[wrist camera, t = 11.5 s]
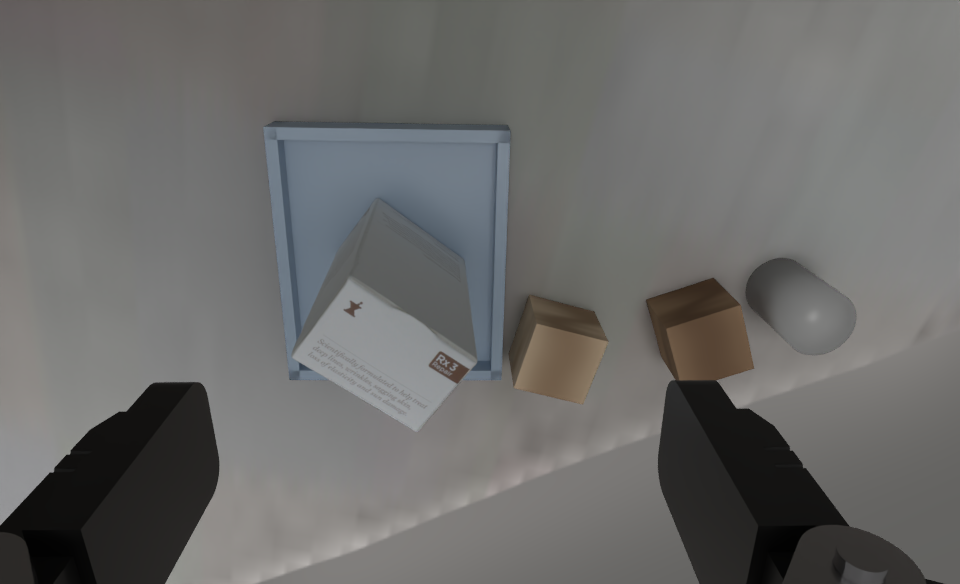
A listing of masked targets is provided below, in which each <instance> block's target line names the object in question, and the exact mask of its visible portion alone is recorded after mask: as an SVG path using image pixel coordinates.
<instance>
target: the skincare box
mask: <svg viewBox="0 0 960 584" xmlns="http://www.w3.org/2000/svg"><path fill="white" fill-rule="evenodd" d="M291 356H292V358H293V359H294V360H296V361H298V362H299V363H301V364H303V365H305V366H306V367H308V368H310V369H311V370H313V371H315V372H317V373H318V374H320V375H322V376H323V377H325V378H327V379H328V380H330V381H332V382H333V383H335V384H337V385H339V386H340V387H342V388H344V389H345V390H347V391H349V392H350V393H352V394H354V395H355V396H357V397H359V398H361V399H362V400H364V401H366V402H367V403H369V404H371V405H372V406H374V407H376V408H377V409H379V410H381V411H382V412H384V413H386V414H387V415H389V416H391V417H392V418H394V419H396V420H397V421H399V422H401V423H402V424H404V425H406V426H407V427H409V428H410V429H412V430H414V431H415V432H418V431H419V430H420V429H421V428H422V427H423V426H424V424H425V423H426V422H427V421H428V420H429V419H430V417H431V416H432V415H433V414H434V413H435V411H436V410H437V409H438V408H439V407H440V405H441V404H442V403H443V402H444V401H445V399H446V398H447V397H448V396H449V395H450V394H451V392H452V391H453V390H454V389H455V388H456V387H457V386H458V384H459V383H460V382H461V381H462V380H463V379H464V377H465V376H466V375H467V374H468V373H469V372H470V371H471V369H472V368H473V367H474V366H475V365H476V364H477V361H478V360H477V352H476V346H475V338H474V331H473V323H472V315H471V307H470V299H469V291H468V284H467V276H466V267H465V261H464V259H463V258H461V257H460V256H459V255H457V254H456V253H454V252H453V251H452V250H450V249H449V248H447V247H446V246H445V245H443V244H442V243H441V242H439V241H438V240H436V239H435V238H434V237H432V236H431V235H429V234H428V233H427V232H425V231H424V230H422V229H421V228H420V227H418V226H417V225H416V224H414V223H413V222H411V221H410V220H409V219H407V218H406V217H404V216H403V215H402V214H400V213H399V212H398V211H396V210H395V209H393V208H392V207H391V206H389V205H388V204H387V203H385V202H384V201H382V200H381V199H379V198H377V199H375V200H374V202H373V203H372V204H371V206H370V207H369V208H368V210H367V211H366V212H365V214H364V215H363V216H362V218H361V219H360V220H359V222H358V223H357V224H356V226H355V227H354V228H353V230H352V231H351V233H350V234H349V235H348V237H347V238H346V239H345V241H344V242H343V244H342V245H341V246H340V248H339V249H338V251H337V252H336V255H335V257H334V260H333V262H332V264H331V267H330V269H329V271H328V273H327V275H326V277H325V280H324V282H323V284H322V286H321V288H320V291H319V293H318V295H317V297H316V300H315V302H314V304H313V306H312V308H311V310H310V313H309V315H308V317H307V319H306V321H305V324H304V326H303V329H302V332H301V334H300V336H299V338H298V339H297V341H296V344H295V346H294V348H293V351H292V355H291Z"/></svg>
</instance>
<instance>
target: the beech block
mask: <svg viewBox="0 0 960 584" xmlns="http://www.w3.org/2000/svg"><path fill="white" fill-rule="evenodd" d="M607 344H608V340H607V338H606V336H605V334H604V331H603V329H602V327H601V325H600V323H599V321H598V319H597V317H596V315H595V312H594V311H590V310H586V309H582V308H578V307H574V306H571V305H567V304H563V303H559V302H555V301H551V300H547V299H544V298H540V297H536V296H532V295H529V297H528V300H527V302H526V305H525V308H524V311H523V314H522V317H521V320H520V323H519V326H518V329H517V332H516V334H515V337H514V340H513V343H512V346H511V349H510V352H509V360H510V366H511V372H512V379H513V385H514V388H516V389H520V390H524V391H528V392H533V393H537V394H541V395H545V396H549V397H554V398H558V399H562V400H566V401H570V402H574V403H579V404H583V403H584V401H585V399H586V396H587V394H588V391H589V389H590V386H591V384H592V381H593V379H594V376H595V374H596V371H597V369H598V366H599V364H600V361H601V359H602V357H603V354H604V352H605V349H606V347H607Z"/></svg>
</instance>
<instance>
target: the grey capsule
mask: <svg viewBox="0 0 960 584" xmlns="http://www.w3.org/2000/svg"><path fill="white" fill-rule="evenodd" d="M746 299H747V302H748V304H749V305H750V307H751V308H752V309H753V310H754V311H755V312H756V313H757V314H758V315H759V316H760V317H761V318H763V319H764V320H765V321H766V322H767V323H768V324H769V325H770V326H771V327H772V328H773V329H774V330H775V331H776V332H777V333H778V334H779V335H780V336H781V337H782V338H783V339H784V340H785V341H786V342H787V343H789V344H790V345H791V346H792V347H793V348H794V349H795V350H796V351H798V352H800V353H802V354H806V355H821V354H825V353H828V352H831V351H833V350H835V349H836V348H838V347H839V346H841V345H842V344H843V343H844V342H845V341H846V340H847V339H848V338H849V336H850V335H851V333H852V331H853V329H854V327H855V324H856V310H855V307H854V305H853V303H852V302H851V301H850V300H849V298H847V297H846V296H845V295H843V294H842V293H840V292H839V291H837V290H836V289H835V288H833V287H832V286H830V285H829V284H827V283H826V282H825V281H823V280H822V279H820V278H819V277H817V276H816V275H815V274H813V273H812V272H810V271H809V270H807V269H806V268H804V267H803V266H802V265H800V264H799V263H797V262H796V261H794V260H791V259H785V258H779V259H774V260H770V261H768V262H766V263H764V264H762V265H761V266H759V267H758V268H757V269H756V270H755V271H754V272H753V273H752V275H751V276H750V278H749V280H748V282H747V286H746Z"/></svg>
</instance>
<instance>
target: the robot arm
mask: <svg viewBox="0 0 960 584" xmlns="http://www.w3.org/2000/svg"><path fill="white" fill-rule="evenodd" d="M658 473H659V480H660V485H661V489H662V492H663V495H664V498H665V500H666V502H667V505H668V507H669V510H670V512H671V514H672V517H673V519H674V522H675V525H676V527H677V529H678V532H679V534H680V537H681V539H682V542H683V544H684V547H685V549H686V552H687V554H688V557H689V559H690V561H691V564H692V566H693V569H694V571H695V574H696V576H697V578H698V581H699V584H943V583H939V582H935V581H931V580H927V579H925V578H924V576H923V574H922V572H921V570H920V569H919V568H918V566H917V565H916V564H915V563H914V561H913V560H911V559H910V557H908V556H907V555H906V554H905V553H904V552H903V551H901V550H900V549H899V548H897V547H896V546H894V545H893V544H891V543H890V542H888V541H886V540H884V539H883V538H881V537H879V536H876V535H874V534H872V533H870V532H867V531H864V530H861V529H858V528H853V527H850V526H849V525H848V524H847V522H846V521H845V520H844V518H843V517H842V516H841V514H840V513H839V512H838V511H837V509H836V508H835V506H834V505H833V504H832V502H831V501H830V500H829V498H828V497H827V496H826V494H825V493H824V492H823V491H822V489H821V488H820V486H819V485H818V484H817V482H816V481H815V480H814V478H813V477H812V476H811V474H810V473H809V472H808V471H807V469H806V468H803V465H802V462H801V461H800V460H799V458H798V457H797V456H796V455H795V453H794V452H793V451H790V447H789V445H788V444H787V442H786V441H785V440H784V439H783V437H782V436H781V435H780V433H779V432H778V431H777V429H776V428H775V426H773V425H772V424H770V423H769V422H767V421H766V420H765V419H763V418H762V417H760V416H759V415H757V414H756V413H754V412H753V411H752V410H750V409H736V408H735V406H734V405H733V403H732V402H731V400H730V399H729V397H728V396H727V394H726V393H725V391H724V390H723V389H722V387H721V386H720V384H719V383H718V382H717V381H715V380H672V381H671V382H670V383H669V384H668V387H667V391H666V398H665V406H664V414H663V422H662V429H661V438H660V445H659V454H658ZM218 476H219V456H218V450H217V445H216V439H215V434H214V429H213V423H212V418H211V413H210V407H209V402H208V396H207V392H206V390H205V388H204V386H203V385H202V384H201V383H199V382H164V383H153V384H151V385H150V386H149V387H148V388H147V389H146V390H145V391H144V392H143V394H142V395H141V396H140V397H139V398H138V399H137V400H136V402H135V403H134V404H133V405H132V406H131V407H130V408H129V409H128V411H127V412H118V413H117V414H115V415H113V416H112V417H110V418H108V419H107V420H105V421H104V422H102V423H100V424H99V425H97V426H95V427H94V428H92V429H90V430H89V431H88V433H87V434H86V435H85V436H84V437H83V438H82V439H81V440H80V441H79V442H78V443H77V444H76V445H75V446H74V447H73V449H72V450H71V454H70V455H66V456H65V457H64V458H63V459H62V460H61V461H60V462H59V464H58V465H57V466H56V467H55V468H54V473H49V474H48V475H47V476H46V477H45V478H44V480H43V481H42V482H41V483H40V484H39V485H38V486H37V487H36V488H35V489H34V490H33V491H32V492H31V493H30V494H29V496H28V497H27V498H26V499H25V500H24V501H23V502H22V503H21V504H20V505H19V506H18V507H17V508H16V509H15V510H14V512H13V513H12V514H11V515H10V516H9V517H8V518H7V519H6V520H5V521H4V522H3V523H2V524H1V525H0V584H165V582H166V581H167V579H168V577H169V575H170V573H171V571H172V570H173V568H174V566H175V564H176V562H177V561H178V559H179V557H180V555H181V553H182V551H183V550H184V548H185V546H186V544H187V542H188V540H189V539H190V537H191V535H192V533H193V531H194V529H195V528H196V526H197V524H198V522H199V520H200V518H201V517H202V515H203V513H204V511H205V509H206V507H207V506H208V504H209V502H210V500H211V498H212V496H213V494H214V492H215V489H216V486H217V482H218Z"/></svg>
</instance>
